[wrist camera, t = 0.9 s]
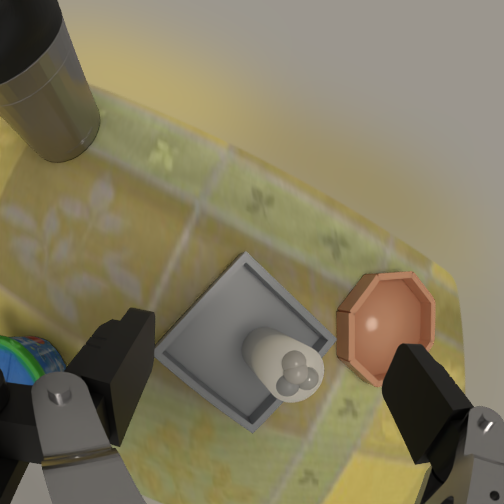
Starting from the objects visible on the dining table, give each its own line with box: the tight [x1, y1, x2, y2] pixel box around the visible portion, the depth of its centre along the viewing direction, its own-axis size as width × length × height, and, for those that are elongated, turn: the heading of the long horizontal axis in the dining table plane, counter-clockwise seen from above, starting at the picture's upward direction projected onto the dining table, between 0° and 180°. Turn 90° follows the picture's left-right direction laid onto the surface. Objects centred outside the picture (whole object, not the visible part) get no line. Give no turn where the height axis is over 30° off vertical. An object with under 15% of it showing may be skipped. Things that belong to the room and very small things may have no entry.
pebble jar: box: [242, 327, 324, 402], centre depth 28 cm, size 5×5×11 cm
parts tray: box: [154, 251, 337, 433], centre depth 33 cm, size 14×14×3 cm
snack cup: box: [0, 335, 66, 385], centre depth 24 cm, size 16×10×10 cm
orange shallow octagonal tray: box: [337, 271, 435, 387], centre depth 37 cm, size 14×14×3 cm
